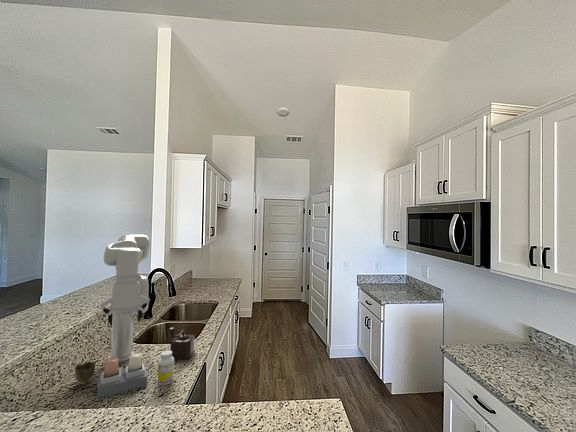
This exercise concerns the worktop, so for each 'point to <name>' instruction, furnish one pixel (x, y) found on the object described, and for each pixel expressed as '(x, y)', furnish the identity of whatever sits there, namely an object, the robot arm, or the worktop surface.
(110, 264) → the robot arm
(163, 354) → the supplement bottle
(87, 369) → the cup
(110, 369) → the brown egg
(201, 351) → the worktop surface
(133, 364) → the knob cream
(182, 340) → the dark brown coffee grinder
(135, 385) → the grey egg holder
